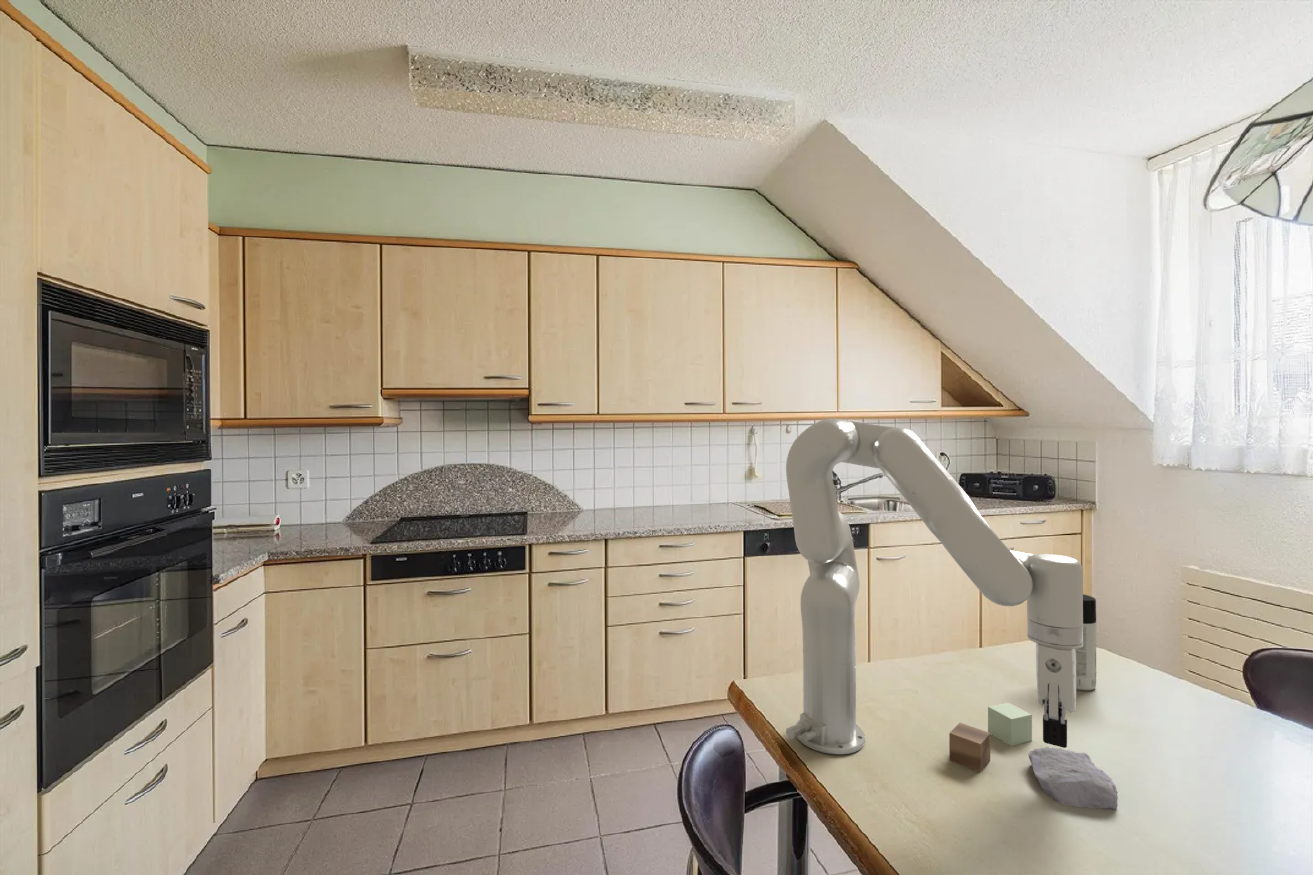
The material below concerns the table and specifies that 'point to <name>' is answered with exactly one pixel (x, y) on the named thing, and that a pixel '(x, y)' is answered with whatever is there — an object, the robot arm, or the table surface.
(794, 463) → the robot arm
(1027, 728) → the sage block
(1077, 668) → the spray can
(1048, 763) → the stone block
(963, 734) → the walnut block
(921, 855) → the table surface
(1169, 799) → the table surface
